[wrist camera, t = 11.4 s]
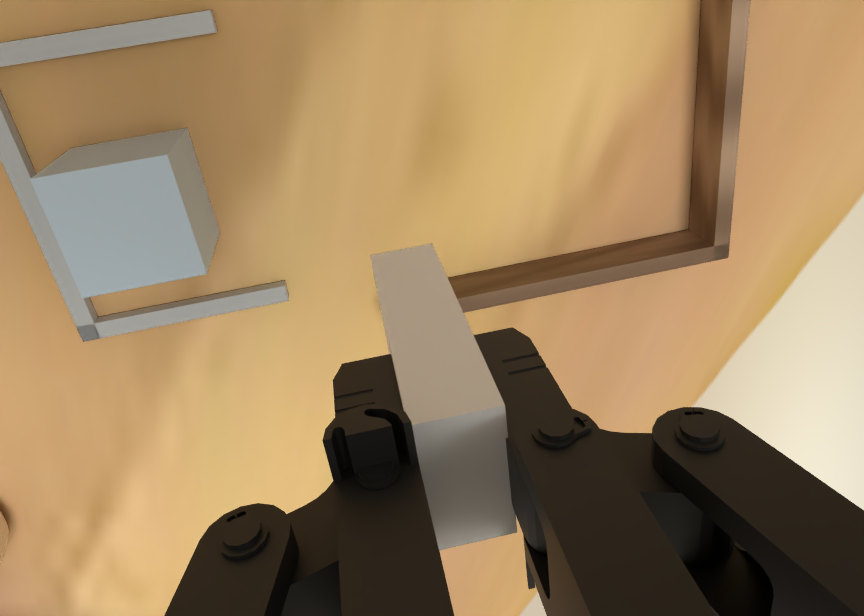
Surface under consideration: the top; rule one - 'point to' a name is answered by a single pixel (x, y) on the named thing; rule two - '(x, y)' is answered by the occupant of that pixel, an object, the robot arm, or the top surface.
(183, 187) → the cube
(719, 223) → the brown flat u-shaped frame
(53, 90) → the top surface
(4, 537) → the plastic bottle
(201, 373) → the top surface
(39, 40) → the corral
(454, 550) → the top surface
